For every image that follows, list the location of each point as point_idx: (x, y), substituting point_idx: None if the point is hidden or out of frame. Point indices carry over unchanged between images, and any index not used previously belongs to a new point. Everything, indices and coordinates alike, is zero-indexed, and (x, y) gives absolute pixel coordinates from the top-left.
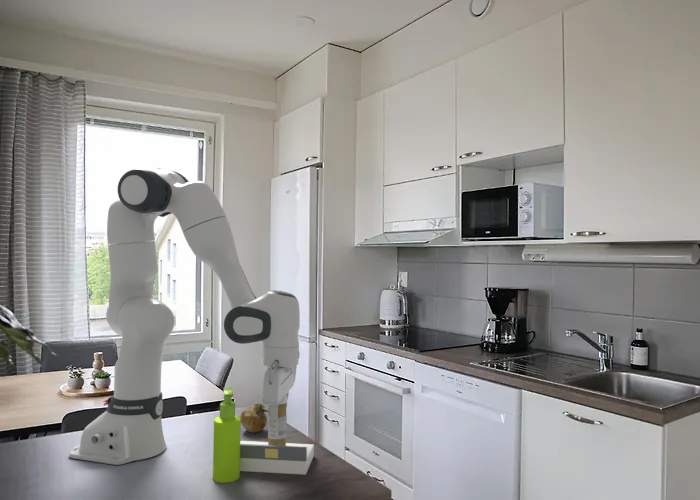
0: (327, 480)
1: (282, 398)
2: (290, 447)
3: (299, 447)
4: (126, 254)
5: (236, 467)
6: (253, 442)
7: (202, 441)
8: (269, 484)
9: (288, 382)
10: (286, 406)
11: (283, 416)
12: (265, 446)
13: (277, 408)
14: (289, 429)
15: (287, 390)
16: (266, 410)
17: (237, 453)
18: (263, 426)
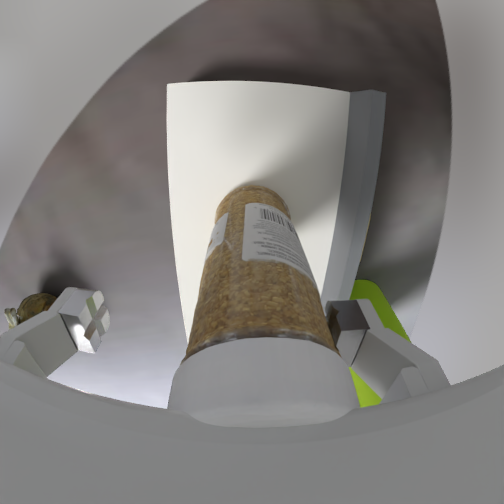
0: (377, 37)
1: (355, 405)
2: (378, 163)
3: (377, 122)
4: None
5: (383, 301)
6: (191, 307)
7: (154, 383)
8: (404, 198)
9: (48, 491)
10: (78, 291)
11: (301, 274)
12: (358, 265)
13: (420, 350)
14: (13, 230)
15: (121, 433)
16: (16, 318)
17: (396, 325)
18: (48, 298)
